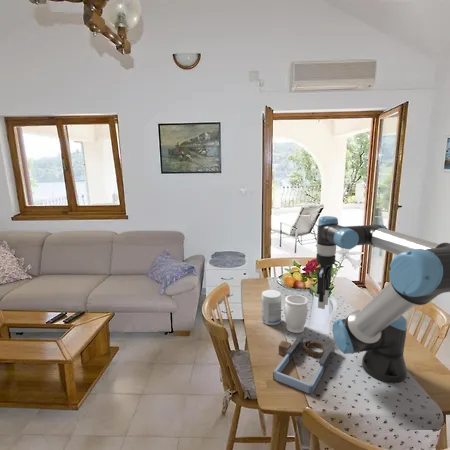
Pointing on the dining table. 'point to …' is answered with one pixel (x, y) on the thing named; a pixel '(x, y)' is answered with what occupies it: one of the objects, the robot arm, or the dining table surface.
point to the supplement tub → (271, 307)
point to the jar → (296, 313)
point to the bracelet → (312, 352)
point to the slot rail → (325, 356)
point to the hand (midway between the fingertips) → (322, 305)
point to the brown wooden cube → (284, 347)
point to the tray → (293, 381)
